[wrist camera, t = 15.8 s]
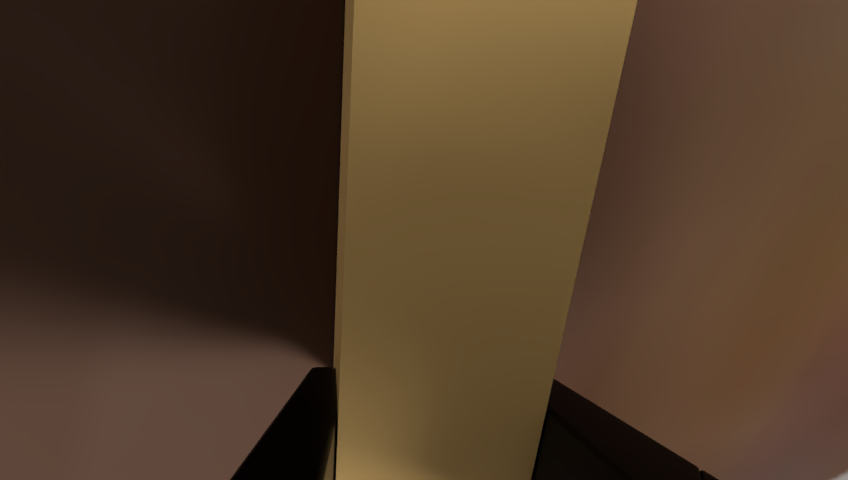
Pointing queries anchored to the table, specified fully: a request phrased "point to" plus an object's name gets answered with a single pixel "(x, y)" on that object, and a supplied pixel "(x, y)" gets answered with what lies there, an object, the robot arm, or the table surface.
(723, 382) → the table surface
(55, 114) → the table surface
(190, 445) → the table surface
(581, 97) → the plug
